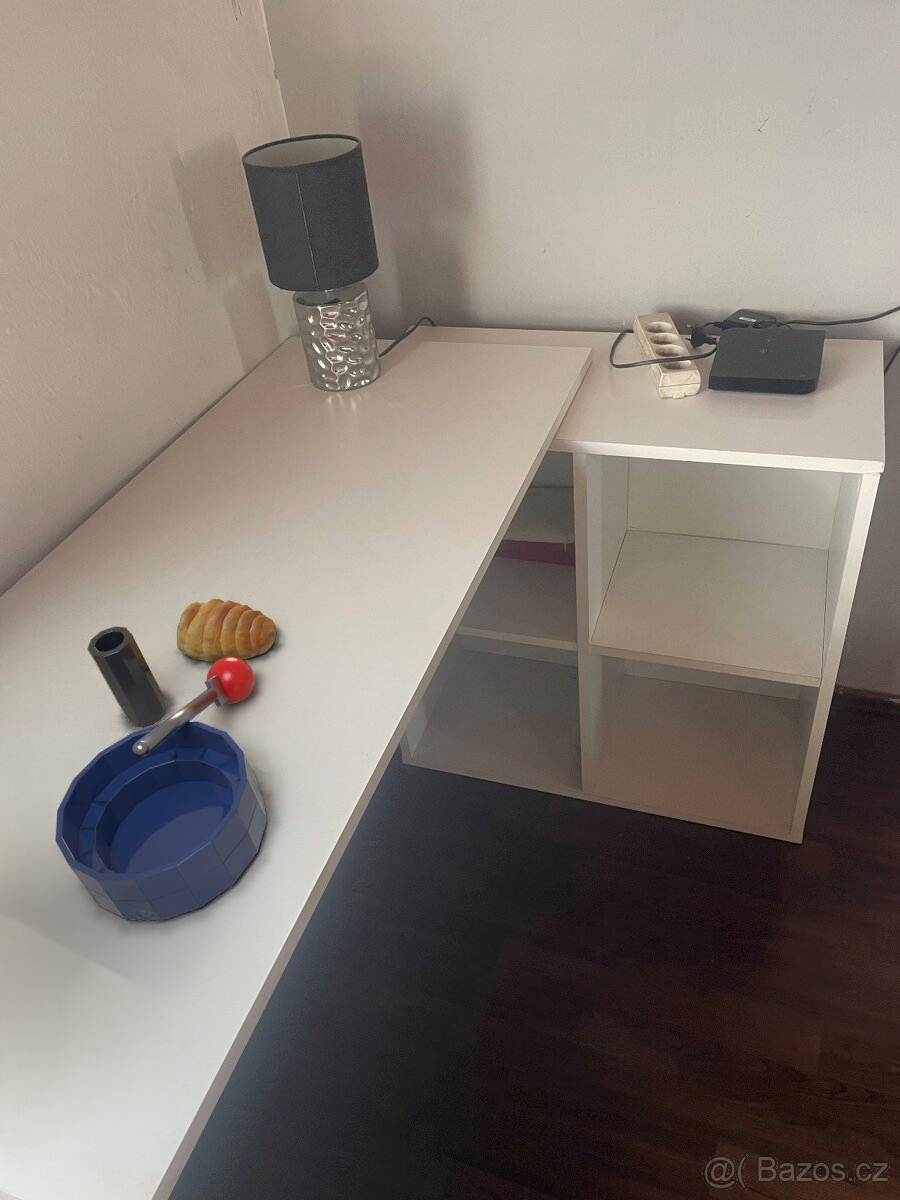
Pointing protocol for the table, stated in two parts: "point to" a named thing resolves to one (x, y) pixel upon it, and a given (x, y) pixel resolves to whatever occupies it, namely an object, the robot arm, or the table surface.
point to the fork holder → (128, 676)
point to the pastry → (223, 631)
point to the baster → (204, 700)
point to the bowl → (162, 822)
